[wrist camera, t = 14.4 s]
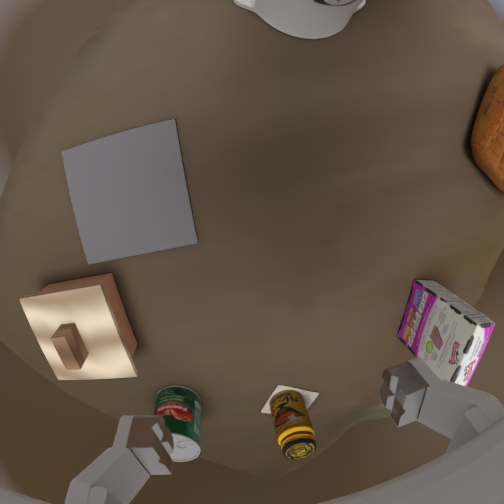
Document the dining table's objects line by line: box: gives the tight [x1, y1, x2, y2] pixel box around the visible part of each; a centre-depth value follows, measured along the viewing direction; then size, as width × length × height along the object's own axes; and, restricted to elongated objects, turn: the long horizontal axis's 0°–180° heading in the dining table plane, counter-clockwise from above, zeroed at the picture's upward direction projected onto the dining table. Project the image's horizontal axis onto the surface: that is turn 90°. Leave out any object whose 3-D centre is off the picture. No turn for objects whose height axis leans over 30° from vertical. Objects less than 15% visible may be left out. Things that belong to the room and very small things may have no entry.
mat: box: [62, 119, 198, 265], centre depth 36 cm, size 16×16×1 cm
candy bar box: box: [397, 280, 495, 386], centre depth 39 cm, size 11×5×16 cm, turn 175°
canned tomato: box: [154, 385, 201, 462], centre depth 43 cm, size 8×8×11 cm
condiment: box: [261, 385, 319, 460], centre depth 45 cm, size 7×8×12 cm
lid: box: [19, 282, 138, 380], centre depth 33 cm, size 14×14×4 cm
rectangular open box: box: [38, 273, 137, 358], centre depth 38 cm, size 12×12×6 cm
